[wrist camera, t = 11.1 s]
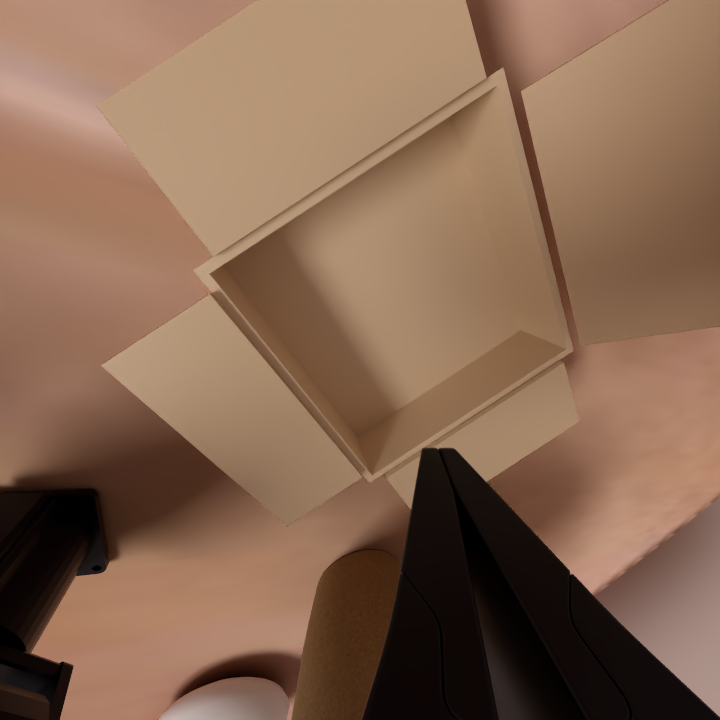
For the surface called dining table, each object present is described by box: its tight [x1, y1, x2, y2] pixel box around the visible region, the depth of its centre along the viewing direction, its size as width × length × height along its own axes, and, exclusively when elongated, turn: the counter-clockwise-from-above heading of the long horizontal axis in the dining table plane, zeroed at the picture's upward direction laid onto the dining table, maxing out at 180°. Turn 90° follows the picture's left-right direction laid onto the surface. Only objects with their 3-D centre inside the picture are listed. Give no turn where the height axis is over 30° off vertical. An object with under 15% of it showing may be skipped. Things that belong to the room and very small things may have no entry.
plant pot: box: [292, 550, 401, 720], centre depth 20 cm, size 15×15×16 cm
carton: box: [96, 0, 580, 526], centre depth 17 cm, size 19×24×4 cm
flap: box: [521, 0, 720, 346], centre depth 11 cm, size 1×12×10 cm
